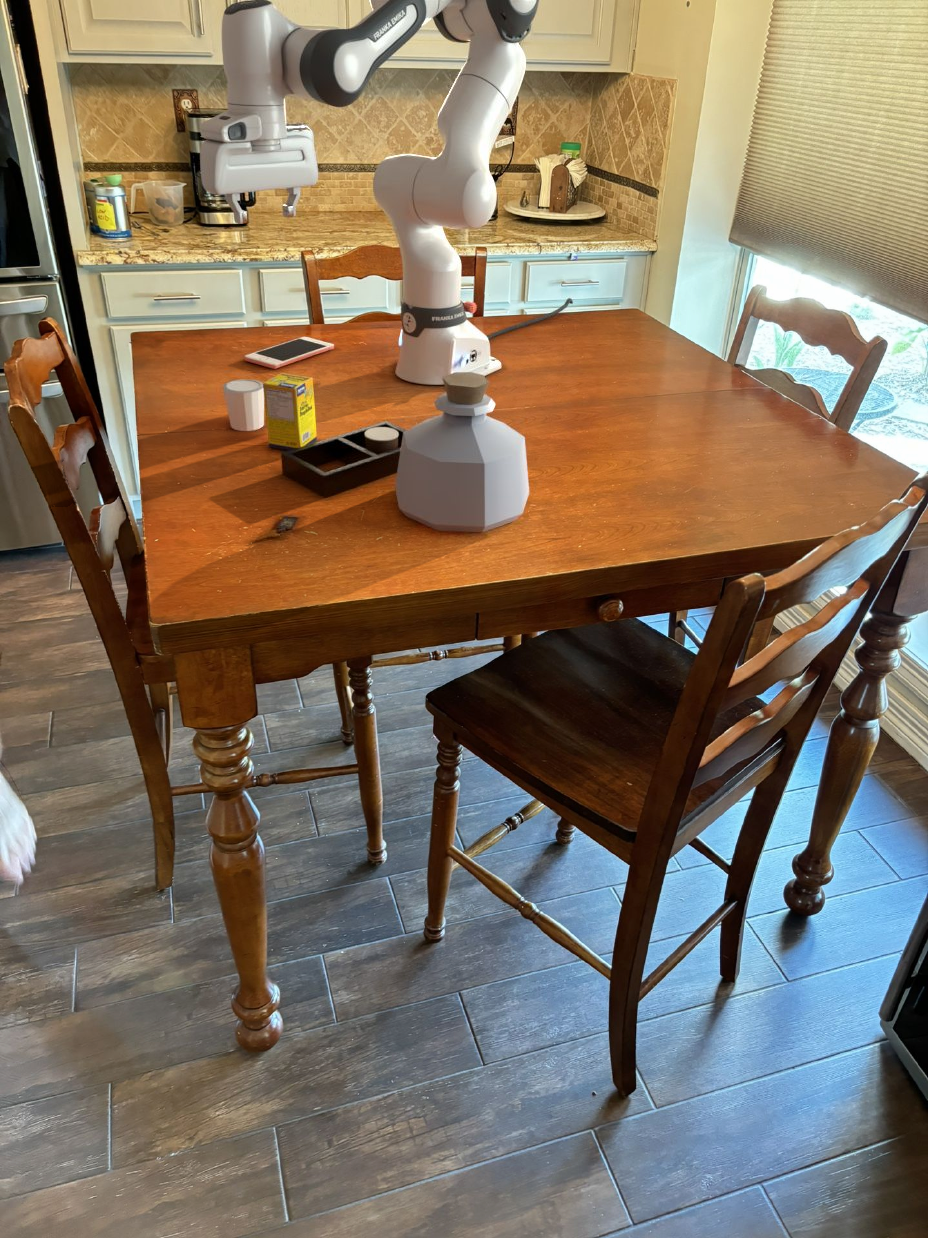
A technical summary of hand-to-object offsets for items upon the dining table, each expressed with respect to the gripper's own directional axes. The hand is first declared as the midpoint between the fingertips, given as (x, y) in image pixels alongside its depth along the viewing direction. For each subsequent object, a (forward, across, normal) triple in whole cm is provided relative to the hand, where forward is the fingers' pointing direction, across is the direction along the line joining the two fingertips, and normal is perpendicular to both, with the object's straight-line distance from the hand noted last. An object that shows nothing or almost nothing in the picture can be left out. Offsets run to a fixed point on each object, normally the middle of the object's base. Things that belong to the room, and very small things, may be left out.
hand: (265, 219), depth 150 cm
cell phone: (+31, -17, -21) cm, 41 cm away
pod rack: (+31, +8, +32) cm, 45 cm away
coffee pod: (+31, +2, +32) cm, 45 cm away
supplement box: (+31, +10, +18) cm, 37 cm away
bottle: (+31, +4, +52) cm, 61 cm away
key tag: (+31, +29, +41) cm, 59 cm away
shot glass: (+31, +11, +6) cm, 34 cm away
